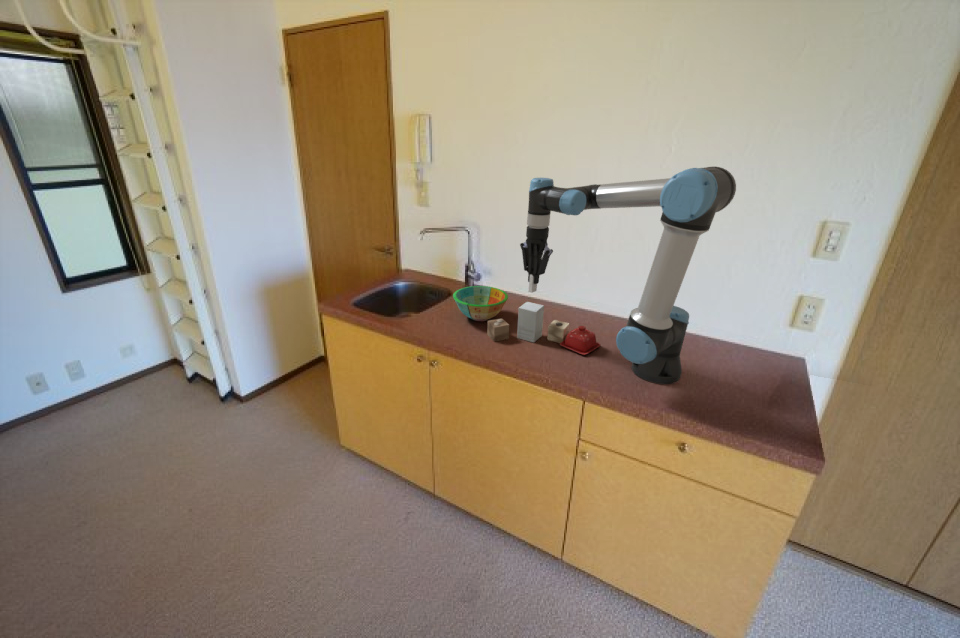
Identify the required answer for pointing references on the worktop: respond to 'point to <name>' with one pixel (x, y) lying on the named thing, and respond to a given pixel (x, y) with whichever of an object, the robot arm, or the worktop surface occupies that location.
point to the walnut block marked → (498, 329)
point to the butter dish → (580, 341)
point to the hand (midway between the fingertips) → (532, 291)
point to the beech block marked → (558, 331)
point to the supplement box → (530, 321)
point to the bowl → (480, 301)
